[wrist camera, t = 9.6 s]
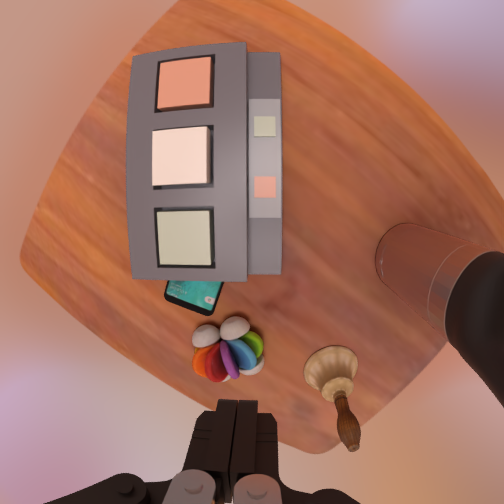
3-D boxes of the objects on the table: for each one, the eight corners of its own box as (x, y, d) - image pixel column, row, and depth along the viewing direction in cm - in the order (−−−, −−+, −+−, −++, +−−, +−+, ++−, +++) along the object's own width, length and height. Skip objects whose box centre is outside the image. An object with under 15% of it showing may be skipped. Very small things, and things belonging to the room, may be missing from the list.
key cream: (210, 130, 31) (206, 126, 28) (210, 183, 32) (206, 182, 29) (160, 134, 31) (152, 131, 28) (160, 185, 32) (152, 185, 30)
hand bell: (339, 394, 41) (363, 470, 25) (293, 381, 40) (303, 463, 25) (367, 354, 39) (406, 426, 24) (320, 337, 39) (346, 416, 23)
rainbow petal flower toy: (186, 326, 39) (172, 352, 32) (252, 307, 38) (249, 333, 31) (210, 373, 41) (201, 404, 34) (272, 358, 40) (273, 389, 33)
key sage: (213, 209, 34) (209, 210, 31) (214, 259, 35) (210, 264, 33) (164, 210, 34) (157, 212, 32) (166, 259, 35) (160, 264, 33)
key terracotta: (214, 64, 30) (210, 56, 27) (213, 108, 31) (209, 103, 29) (166, 70, 30) (160, 63, 28) (164, 113, 31) (157, 108, 29)
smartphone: (249, 210, 35) (211, 318, 38) (249, 209, 36) (212, 316, 39) (194, 191, 35) (162, 299, 38) (195, 191, 36) (163, 297, 39)
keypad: (279, 55, 31) (281, 42, 27) (280, 272, 37) (282, 282, 33) (144, 66, 32) (132, 56, 28) (144, 270, 38) (132, 278, 34)
